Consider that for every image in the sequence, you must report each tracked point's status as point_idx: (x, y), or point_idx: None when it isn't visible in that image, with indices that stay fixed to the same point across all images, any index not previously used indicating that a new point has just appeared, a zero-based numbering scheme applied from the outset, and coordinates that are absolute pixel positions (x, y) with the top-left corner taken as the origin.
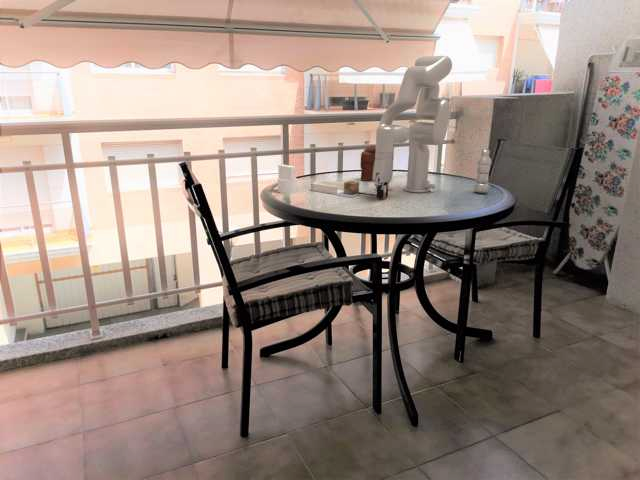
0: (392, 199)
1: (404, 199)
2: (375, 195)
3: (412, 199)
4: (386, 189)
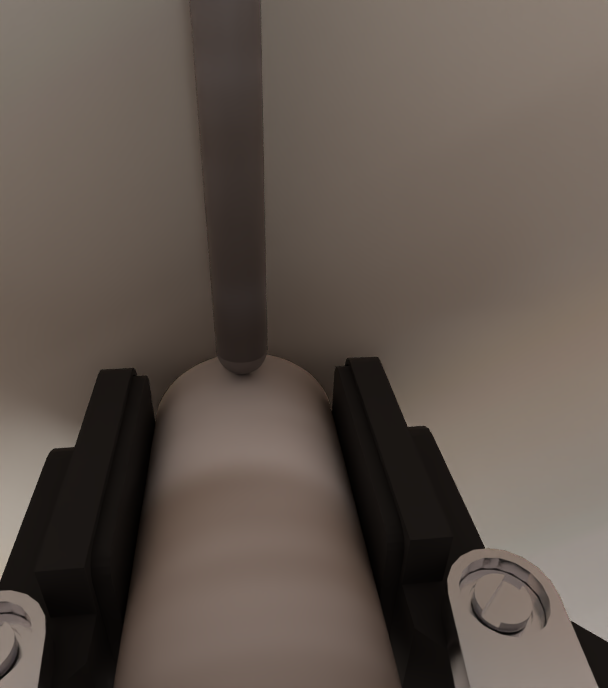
0: None
1: None
2: (213, 290)
3: None
4: None
